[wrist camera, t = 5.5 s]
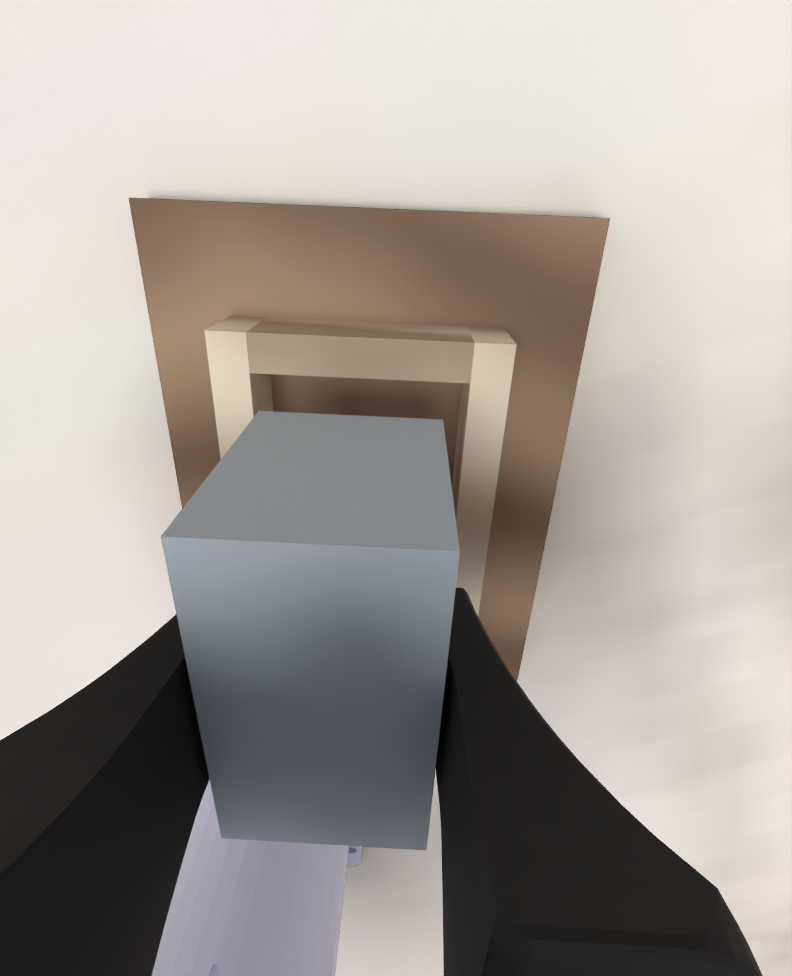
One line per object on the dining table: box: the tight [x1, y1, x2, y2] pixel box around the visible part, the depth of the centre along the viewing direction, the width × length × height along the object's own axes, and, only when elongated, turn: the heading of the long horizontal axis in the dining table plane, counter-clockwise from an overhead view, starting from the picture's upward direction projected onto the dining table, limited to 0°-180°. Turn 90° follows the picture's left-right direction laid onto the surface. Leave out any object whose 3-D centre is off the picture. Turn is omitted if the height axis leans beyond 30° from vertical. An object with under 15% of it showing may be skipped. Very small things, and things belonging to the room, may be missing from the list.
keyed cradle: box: [129, 198, 610, 681], centre depth 17 cm, size 16×12×3 cm
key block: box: [161, 411, 460, 850], centre depth 11 cm, size 4×7×5 cm, turn 178°
